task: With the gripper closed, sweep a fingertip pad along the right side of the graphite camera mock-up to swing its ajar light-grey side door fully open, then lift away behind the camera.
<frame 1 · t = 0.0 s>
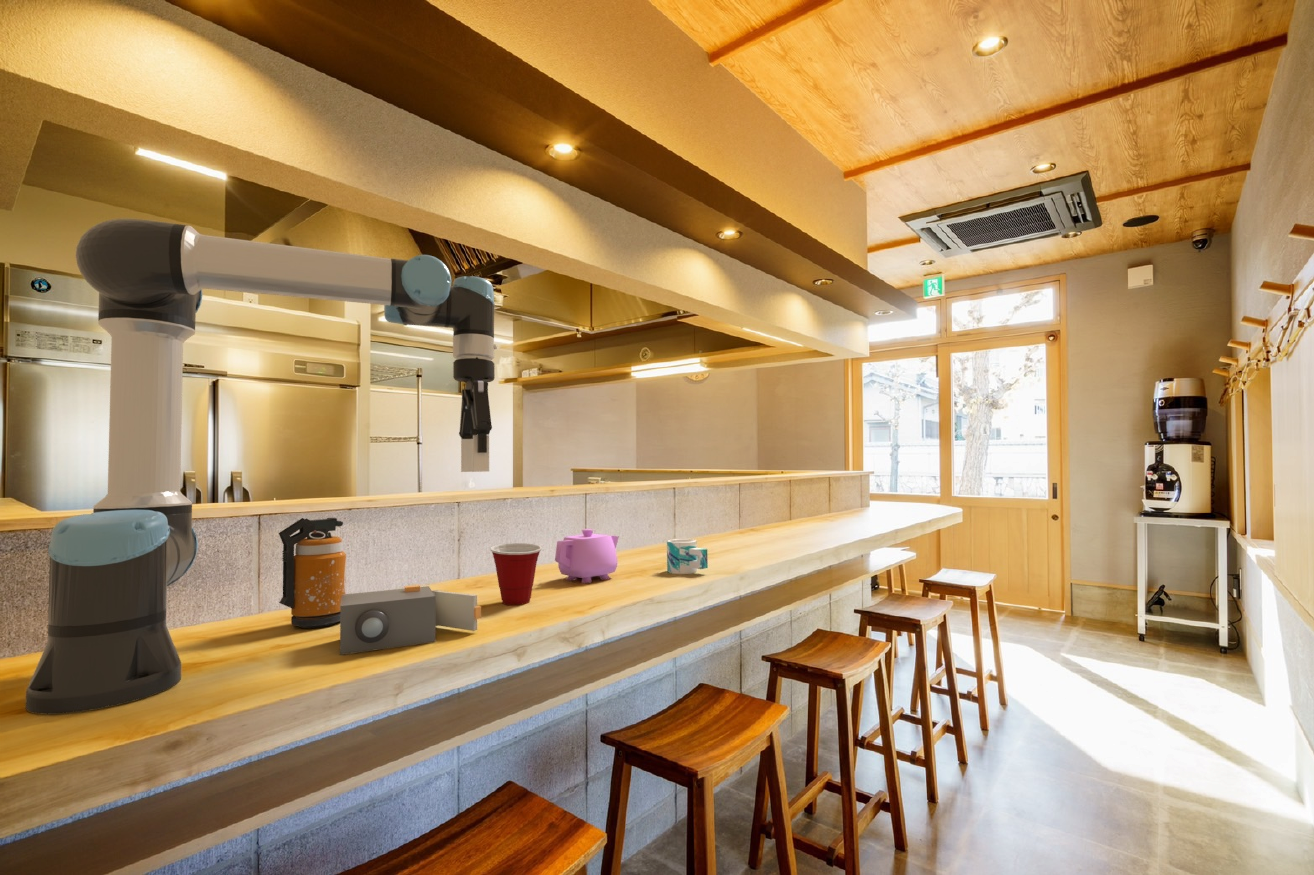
hand: (474, 471, 115), 28 cm above the counter, fingers open, 13 cm apart
teapot: (589, 579, 157), on the counter
mug: (687, 573, 163), on the counter
camera body: (387, 640, 102), on the counter
plastic cup: (516, 603, 130), on the counter
canister: (312, 625, 114), on the counter
side door: (455, 610, 109), point 3 cm above the counter, hinge at 35.0°
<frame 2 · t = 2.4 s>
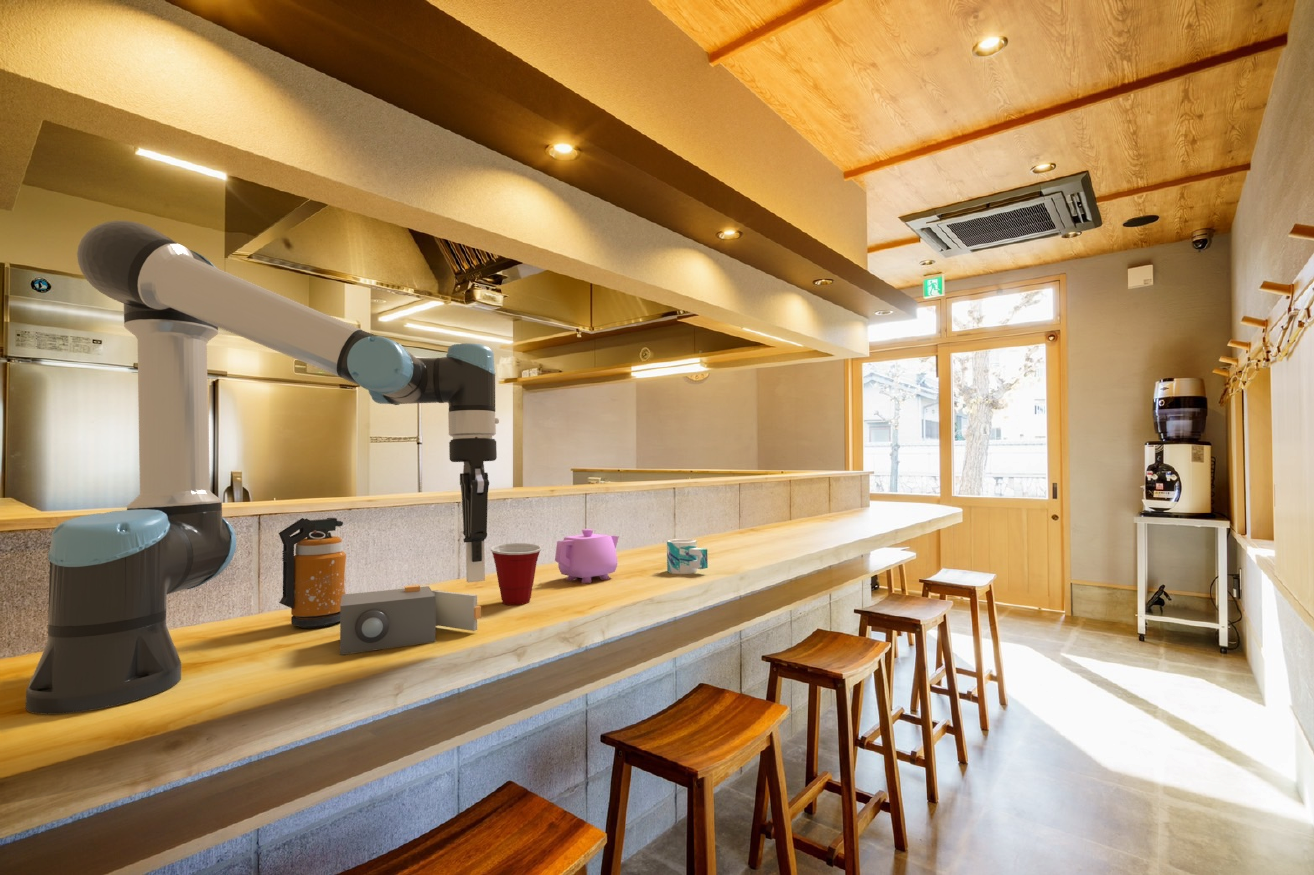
hand: (475, 580, 100), 10 cm above the counter, fingers closed
nothing on the counter moved.
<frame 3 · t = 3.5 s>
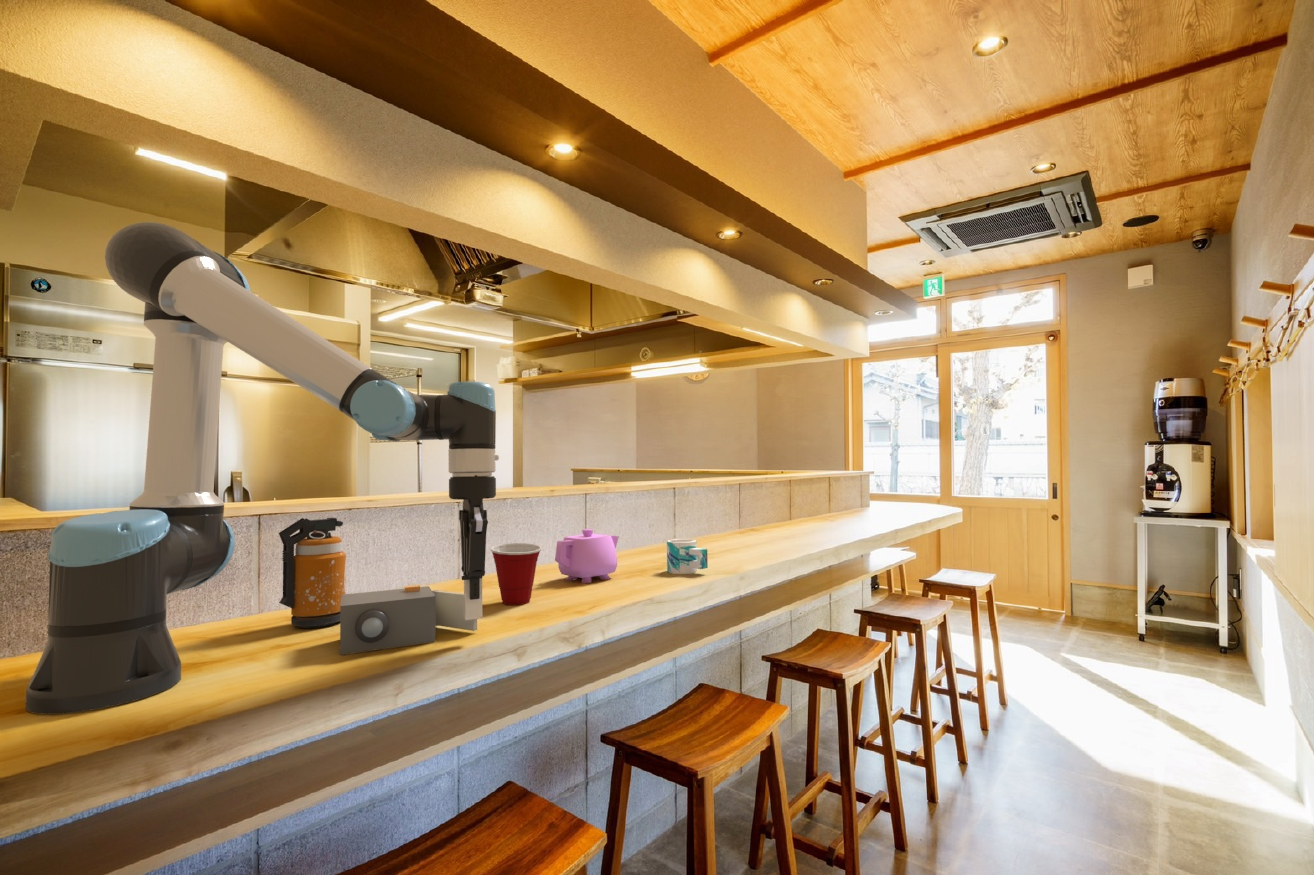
hand: (473, 617, 101), 4 cm above the counter, fingers closed
nothing on the counter moved.
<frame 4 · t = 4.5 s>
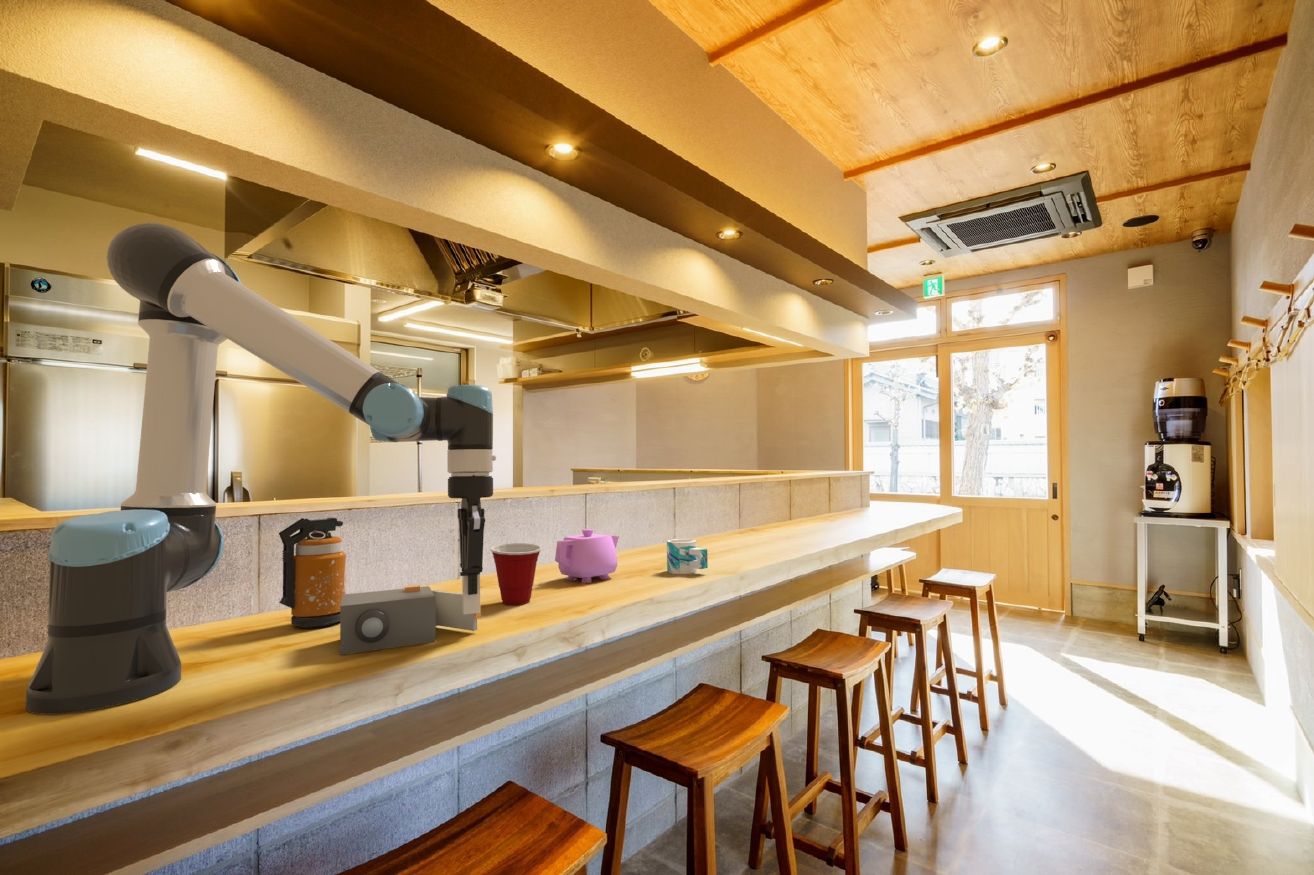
hand: (471, 612, 105), 4 cm above the counter, fingers closed
side door: (455, 610, 109), point 3 cm above the counter, hinge at 35.0°, touching gripper
everything else where it was.
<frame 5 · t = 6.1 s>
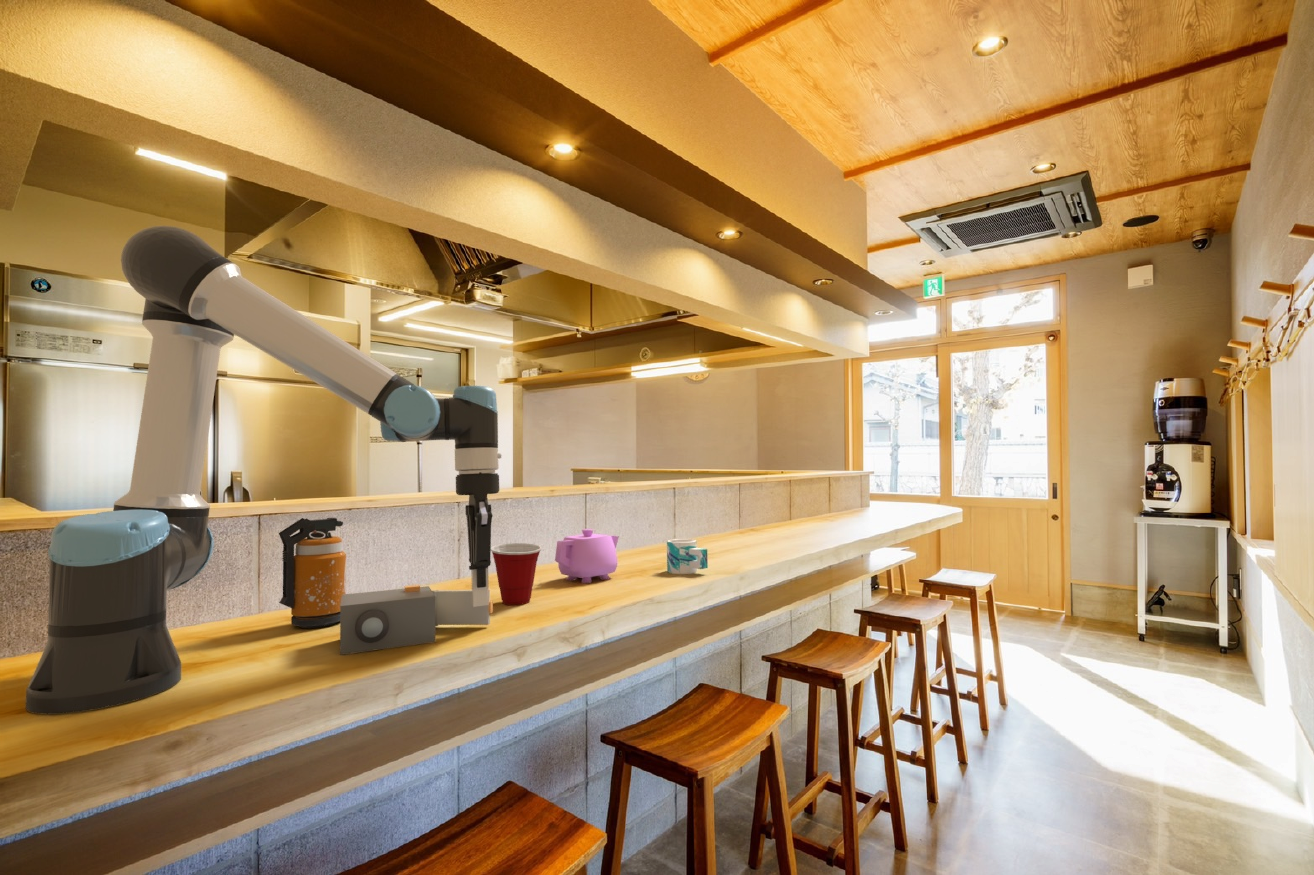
hand: (480, 605, 109), 4 cm above the counter, fingers closed
side door: (461, 607, 111), point 3 cm above the counter, hinge at 59.8°, touching gripper
everything else where it was.
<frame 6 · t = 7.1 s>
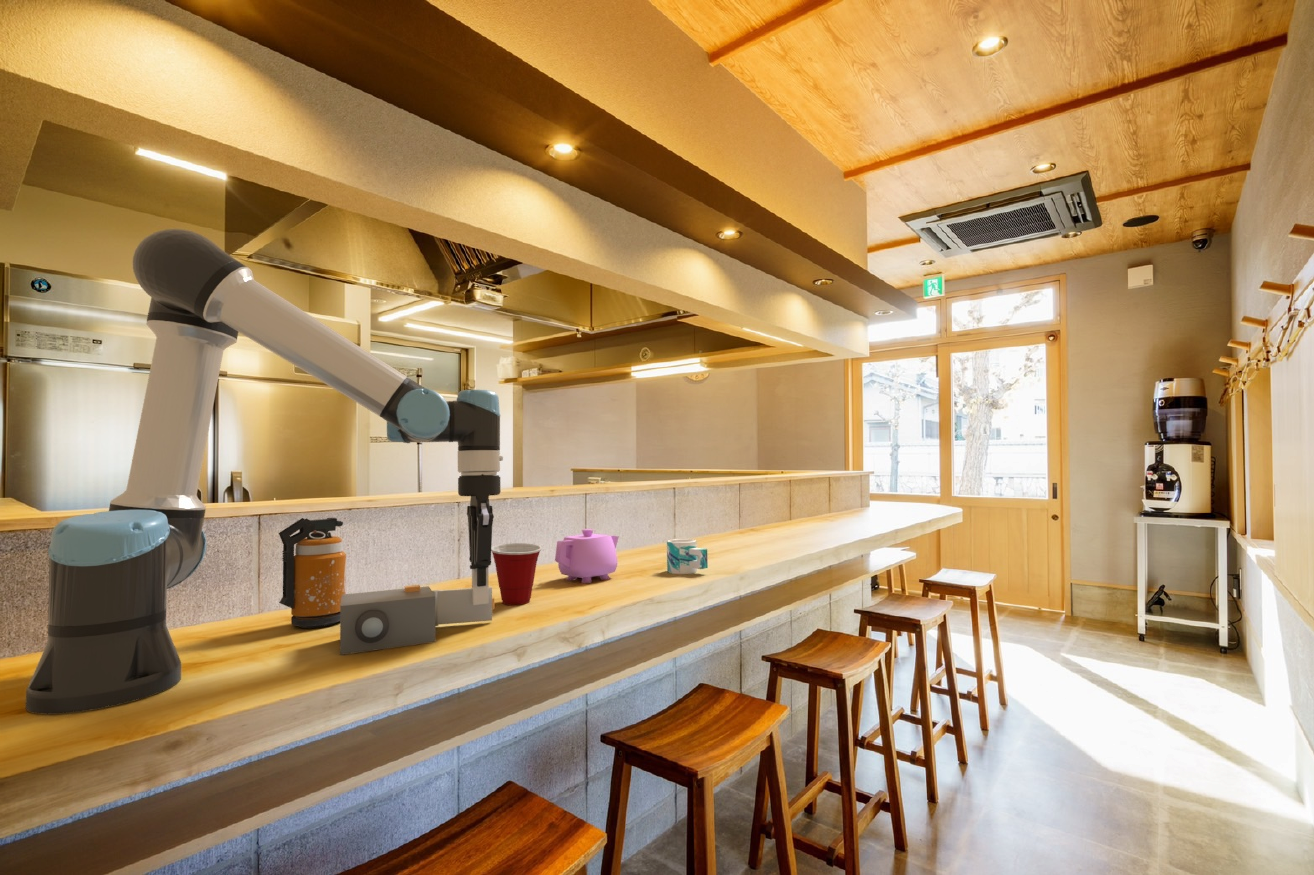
hand: (480, 603, 111), 4 cm above the counter, fingers closed
side door: (463, 606, 112), point 3 cm above the counter, hinge at 77.7°, touching gripper
everything else where it was.
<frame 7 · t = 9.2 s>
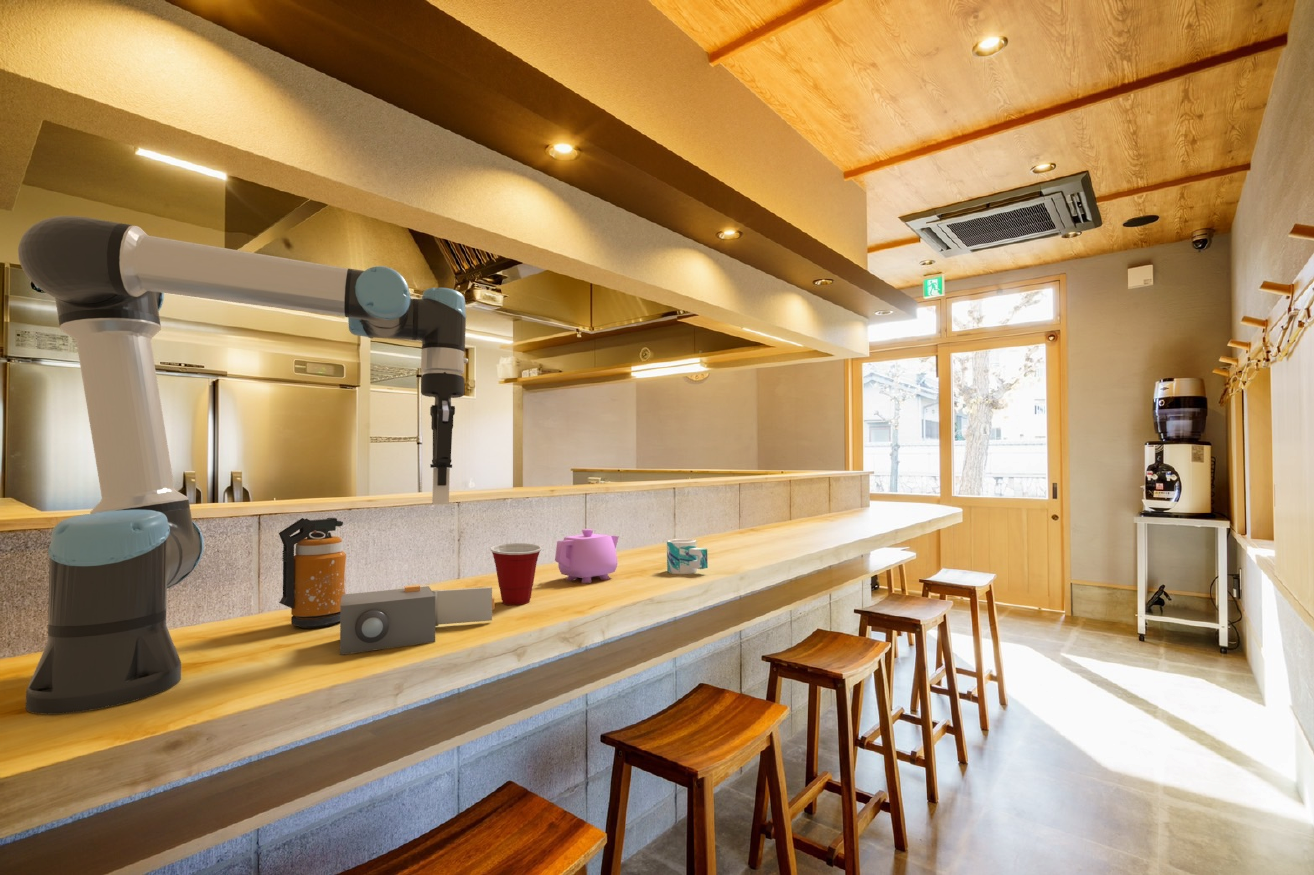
hand: (440, 503, 110), 22 cm above the counter, fingers closed
side door: (463, 606, 112), point 3 cm above the counter, hinge at 77.9°
everything else where it was.
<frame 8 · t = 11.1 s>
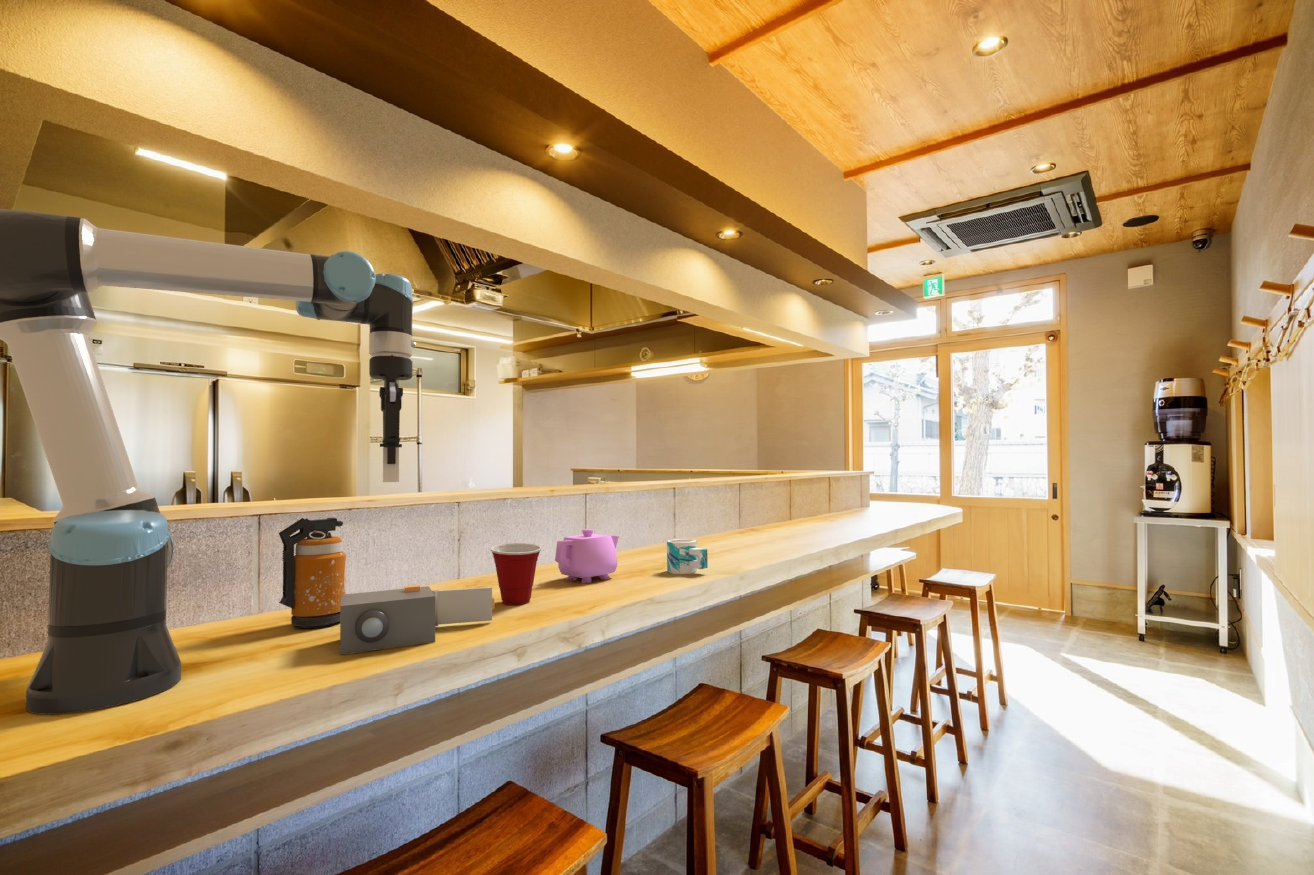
hand: (390, 481, 115), 26 cm above the counter, fingers closed
nothing on the counter moved.
at the end: side door at +78° (first picture: +35°) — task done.
